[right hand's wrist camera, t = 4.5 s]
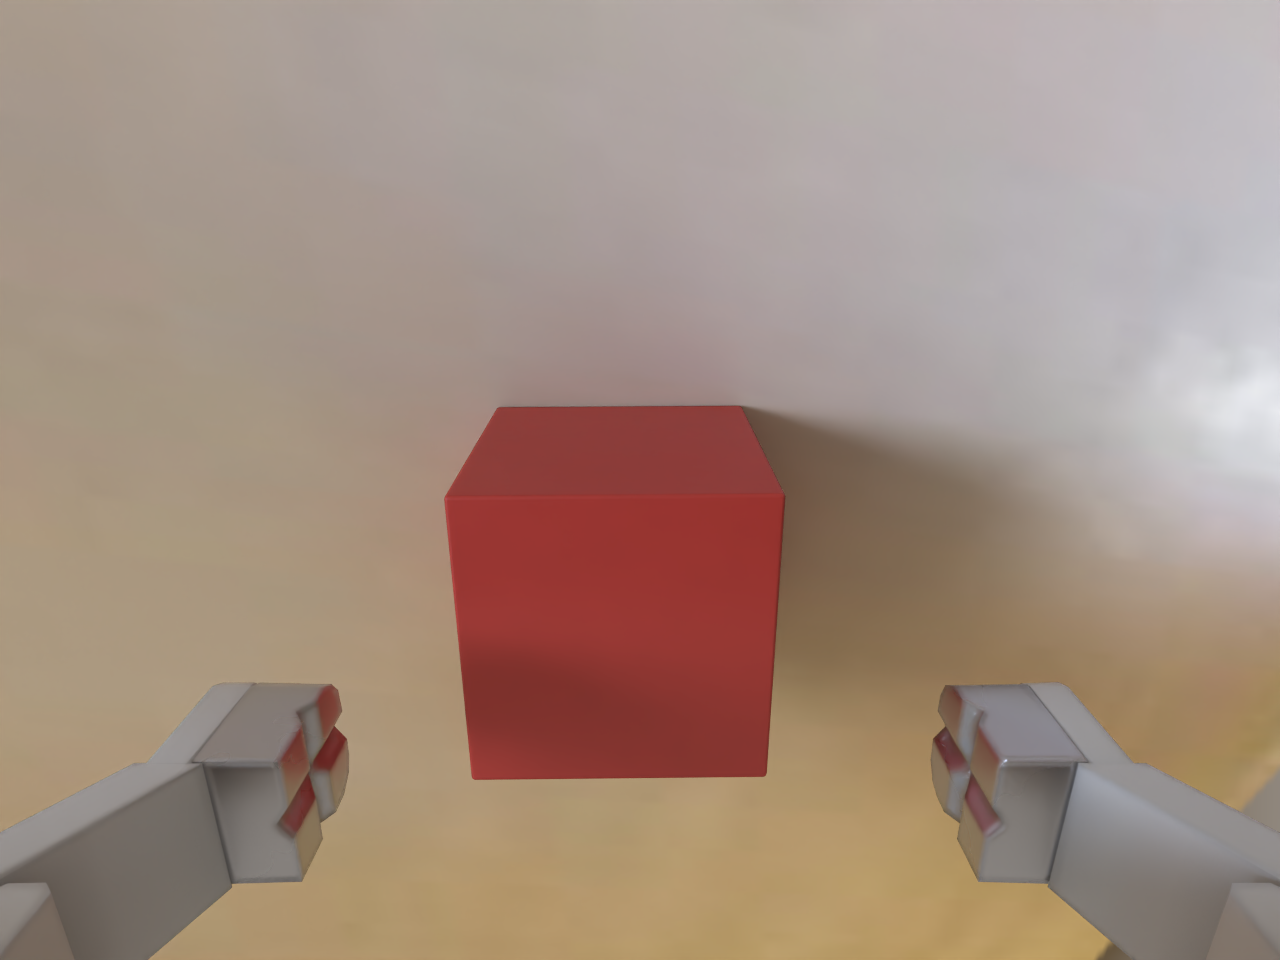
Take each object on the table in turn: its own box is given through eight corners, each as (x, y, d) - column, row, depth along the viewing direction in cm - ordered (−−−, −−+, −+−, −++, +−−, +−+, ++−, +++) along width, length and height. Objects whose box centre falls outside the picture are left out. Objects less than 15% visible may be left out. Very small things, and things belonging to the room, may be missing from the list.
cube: (511, 627, 17) (471, 781, 13) (496, 406, 16) (442, 496, 11) (732, 625, 17) (766, 778, 13) (741, 405, 16) (786, 494, 11)
